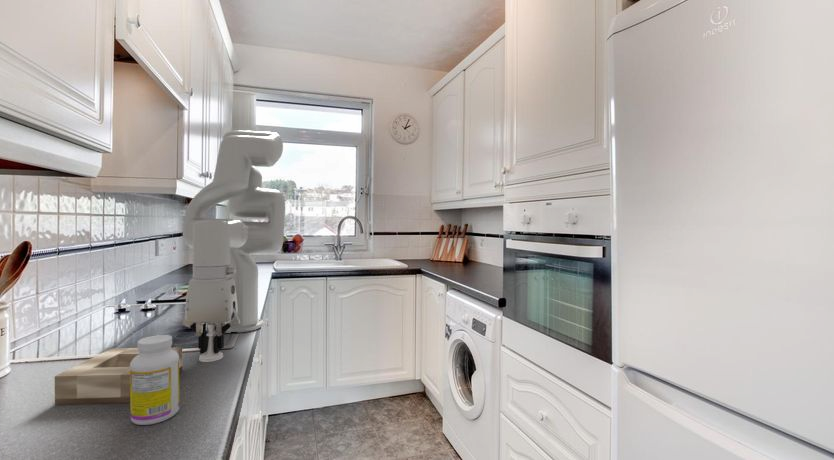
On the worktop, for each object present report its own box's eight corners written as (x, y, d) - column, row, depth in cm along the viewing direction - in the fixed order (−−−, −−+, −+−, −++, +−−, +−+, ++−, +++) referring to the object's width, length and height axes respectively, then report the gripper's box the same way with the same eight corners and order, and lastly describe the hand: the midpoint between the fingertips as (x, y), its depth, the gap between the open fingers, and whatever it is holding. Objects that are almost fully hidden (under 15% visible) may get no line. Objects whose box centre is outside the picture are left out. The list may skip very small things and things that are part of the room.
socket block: (111, 372, 79) (111, 348, 79) (182, 370, 80) (182, 347, 80) (54, 404, 65) (54, 376, 65) (141, 402, 66) (141, 374, 66)
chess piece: (212, 363, 85) (212, 319, 84) (193, 361, 86) (194, 317, 85) (227, 355, 90) (228, 313, 89) (209, 353, 91) (210, 312, 90)
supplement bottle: (153, 404, 66) (153, 331, 65) (188, 407, 65) (188, 333, 65) (119, 425, 59) (118, 344, 59) (158, 428, 58) (158, 346, 58)
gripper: (252, 270, 92) (252, 345, 92) (183, 270, 90) (182, 346, 90) (241, 275, 84) (241, 356, 85) (165, 275, 82) (165, 358, 83)
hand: (211, 350), depth 88 cm, fingers closed on chess piece
